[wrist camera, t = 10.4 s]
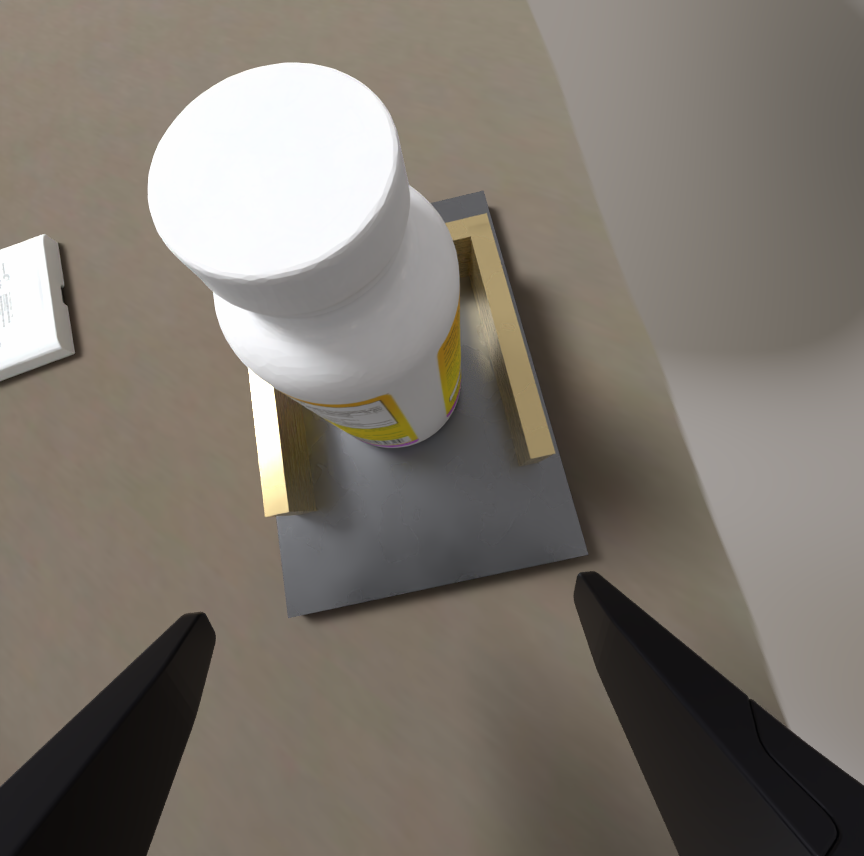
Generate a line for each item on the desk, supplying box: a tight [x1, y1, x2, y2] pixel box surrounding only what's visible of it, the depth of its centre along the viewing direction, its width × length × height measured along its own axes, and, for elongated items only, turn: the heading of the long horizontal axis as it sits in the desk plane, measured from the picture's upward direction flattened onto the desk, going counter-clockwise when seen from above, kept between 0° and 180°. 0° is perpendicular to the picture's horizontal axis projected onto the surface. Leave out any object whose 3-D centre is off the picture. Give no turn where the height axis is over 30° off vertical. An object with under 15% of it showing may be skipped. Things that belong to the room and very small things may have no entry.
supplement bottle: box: [148, 63, 461, 448], centre depth 13 cm, size 7×7×13 cm
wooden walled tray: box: [249, 191, 588, 618], centre depth 18 cm, size 20×14×4 cm
